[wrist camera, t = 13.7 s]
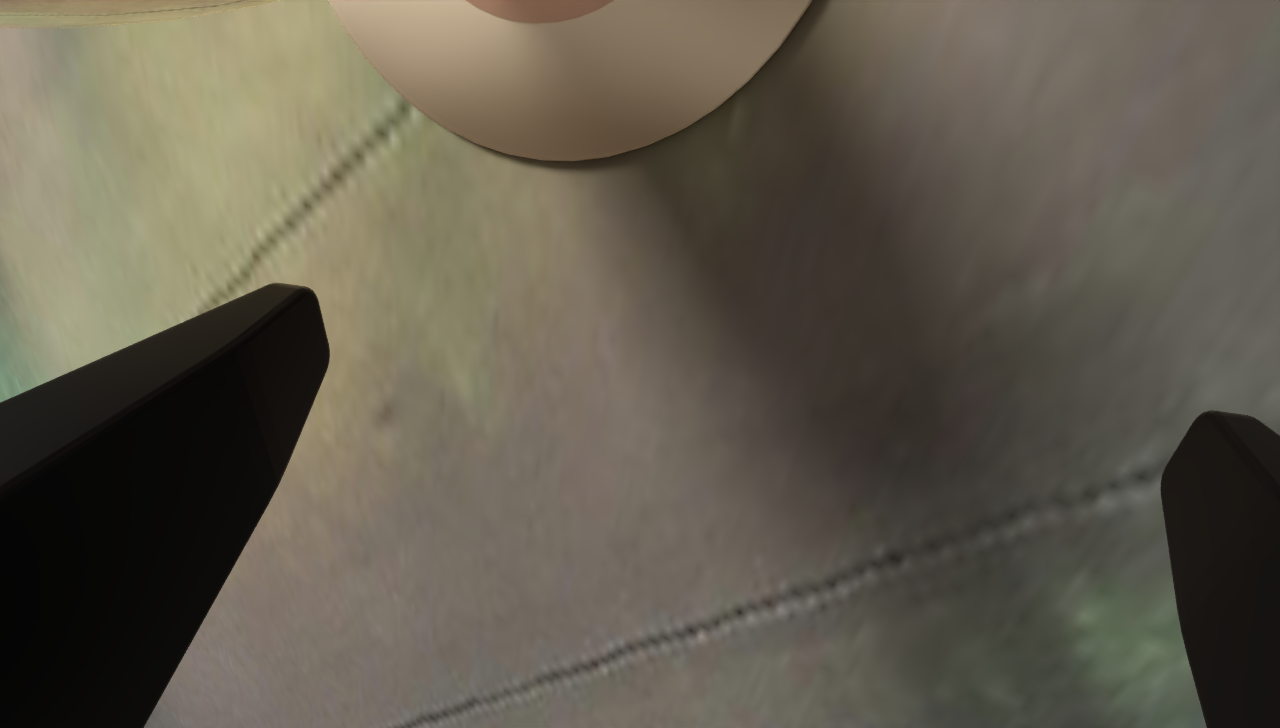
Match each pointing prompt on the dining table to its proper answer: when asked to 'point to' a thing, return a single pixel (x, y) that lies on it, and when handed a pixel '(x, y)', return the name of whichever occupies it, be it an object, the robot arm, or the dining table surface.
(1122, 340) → the dining table surface
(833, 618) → the dining table surface
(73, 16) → the silver tall cup
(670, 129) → the coaster
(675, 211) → the dining table surface
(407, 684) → the dining table surface
